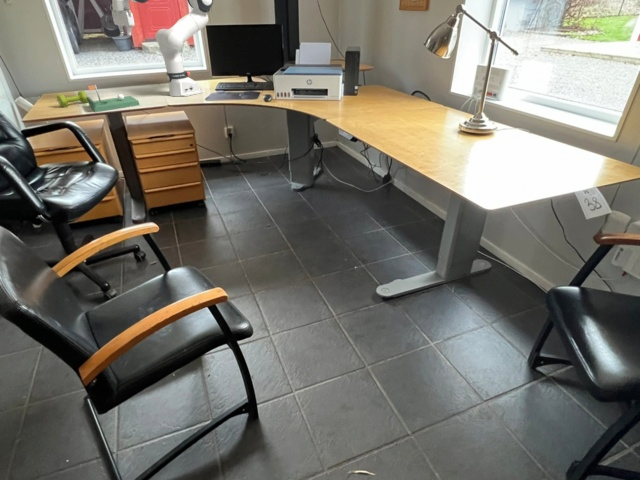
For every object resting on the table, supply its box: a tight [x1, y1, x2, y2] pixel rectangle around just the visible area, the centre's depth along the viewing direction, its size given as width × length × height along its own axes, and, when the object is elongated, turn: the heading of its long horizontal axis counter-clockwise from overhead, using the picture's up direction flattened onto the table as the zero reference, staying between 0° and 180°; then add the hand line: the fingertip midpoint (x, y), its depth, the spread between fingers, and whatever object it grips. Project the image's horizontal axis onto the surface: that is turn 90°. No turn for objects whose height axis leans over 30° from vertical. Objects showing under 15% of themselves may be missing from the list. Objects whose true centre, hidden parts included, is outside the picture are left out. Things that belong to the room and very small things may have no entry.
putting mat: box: [87, 84, 140, 113], centre depth 234 cm, size 25×18×12 cm
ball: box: [117, 93, 125, 100], centre depth 238 cm, size 4×4×4 cm
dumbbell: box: [56, 90, 89, 108], centre depth 240 cm, size 16×8×7 cm, turn 139°
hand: (126, 34), depth 228 cm, fingers open, 8 cm apart
